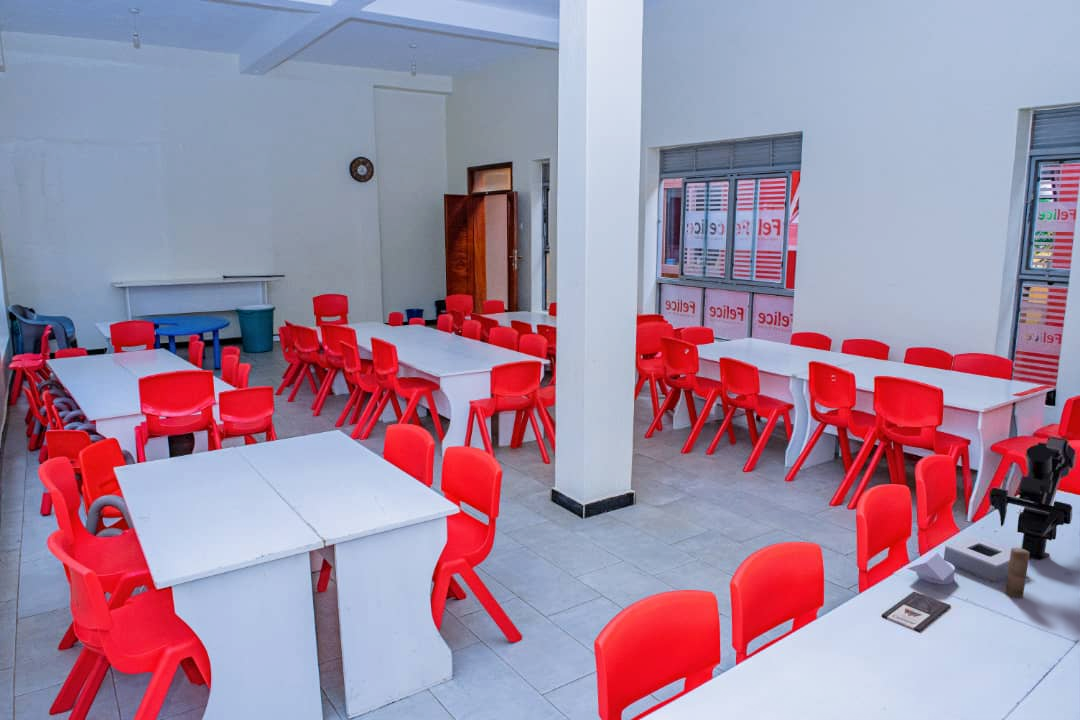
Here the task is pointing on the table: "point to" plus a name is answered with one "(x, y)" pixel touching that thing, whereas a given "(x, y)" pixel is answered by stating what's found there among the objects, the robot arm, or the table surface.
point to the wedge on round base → (934, 569)
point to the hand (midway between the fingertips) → (1021, 530)
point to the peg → (1017, 573)
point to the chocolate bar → (916, 611)
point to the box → (979, 558)
